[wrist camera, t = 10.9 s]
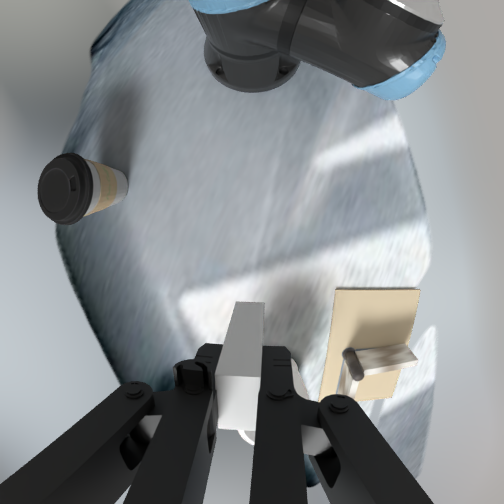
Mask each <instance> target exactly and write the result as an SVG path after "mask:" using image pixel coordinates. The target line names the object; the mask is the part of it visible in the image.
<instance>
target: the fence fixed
mask: <svg viewBox="0 0 504 504" xmlns="http://www.w3.org/2000/svg"><path fill="white" fill-rule="evenodd" d="M347 351H353V352H354V354H355V350H354V349H353V348H348V349H346V350H345V351H344V352H343V358H344V359H345V353H346V352H347ZM358 384H359V381H355V380H354V378H353V376H352V373H351V371H350V368H349V366H348V364H347V361H346V359H345V360H344V365H343V370H342V375H341V379H340V384H339V388H338V392H337V394H342V395H347V396H349V397H351V398H353V399H354V398H355V395H356V391H357V388H358Z"/></svg>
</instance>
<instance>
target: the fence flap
mask: <svg viewBox="0 0 504 504" xmlns="http://www.w3.org/2000/svg"><path fill="white" fill-rule="evenodd" d="M345 359H346V361H347V364H348V366H349V368H350V371H351V373H352V376H353V378H354V380H355V381H361V380H362V379H363V378H364V376H367V375H373V374H378V373H384V372H389V371H394V370H399V369H404V368H408V367H413V366H417V363H418V359H417V358H416V356H415V355H414V354H413V353H412V351H411V350H410V349H409V348H408V346H407V345H406V344H405V343H404V344H398V345H393V346H387V347H381V348H375V349H368V350H361V351H355V354H354V352H353V351H347V352H346V353H345Z"/></svg>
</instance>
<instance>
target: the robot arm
mask: <svg viewBox="0 0 504 504" xmlns="http://www.w3.org/2000/svg"><path fill="white" fill-rule="evenodd" d="M189 2H190V5H191V6H192V7H193V9H194V11H195V13H196V15H197V17H198V19H199V21H200V23H201V25H202V27H203V29H204V31H205V33H206V35H207V37H206V41H205V45H204V57H205V61H206V64H207V66H208V68H209V70H210V72H211V73H212V75H213V76H214V77H215V78H216V79H217V80H218V81H219V82H220V83H221V84H223V85H225V86H226V87H228V88H231V89H233V90H237V91H241V92H249V93H255V92H264V91H268V90H271V89H274V88H277V87H279V86H281V85H282V84H284V83H285V82H287V81H288V80H289V79H290V78H291V77H292V76H293V75H294V74H295V72H296V71H297V69H298V67H299V64H300V60H301V61H303V62H306V63H308V64H311V65H313V66H315V67H318V68H320V69H322V70H324V71H327V72H329V73H331V74H333V75H335V76H337V77H340V78H342V79H344V80H346V81H348V82H350V83H352V85H353V86H354V87H355V88H357V89H361V90H365V91H367V92H369V93H371V94H373V95H375V96H377V97H379V98H381V99H384V100H398V99H401V98H404V97H406V96H408V95H409V94H411V93H412V92H414V91H415V90H417V89H418V88H419V87H420V86H421V85H422V84H423V83H424V82H425V81H426V80H427V79H428V78H429V77H430V76H431V75H432V73H433V72H434V71H435V69H436V63H437V62H438V61H440V60H441V59H442V57H443V54H444V52H445V47H446V41H445V37H444V35H443V34H442V32H441V31H440V30H439V28H440V27H441V26H442V24H443V22H444V18H443V14H442V11H441V8H440V5H439V0H189ZM263 327H264V303H256V302H236V304H235V307H234V310H233V314H232V317H231V321H230V324H229V327H228V331H227V334H226V338H225V341H224V344H223V345H222V344H209V343H205V344H204V345H203V346H201V347H200V348H199V349H198V351H197V353H196V356H195V358H194V359H188V360H184V361H181V362H179V363H177V364H175V366H174V367H173V373H174V380H175V388H174V390H170V391H163V392H153V390H152V388H151V387H150V386H149V385H148V384H146V383H143V382H139V381H134V382H128V383H125V384H123V385H121V386H120V387H119V388H117V389H116V390H115V391H114V392H113V393H111V394H110V395H109V396H108V397H107V398H106V399H104V400H103V401H102V402H101V403H100V404H98V405H97V406H96V407H95V408H94V409H93V410H91V411H90V412H89V413H88V414H86V415H85V416H84V417H83V418H82V419H80V420H79V421H78V422H77V423H76V424H74V425H73V426H72V427H71V428H70V429H69V430H67V431H66V432H65V433H64V434H62V435H61V436H60V437H59V438H57V439H56V440H55V441H54V442H52V443H51V444H50V445H49V446H48V447H46V448H45V449H44V450H43V451H41V452H40V453H39V454H38V455H36V456H35V457H34V458H33V459H31V460H30V461H29V462H28V463H27V464H25V465H24V466H23V467H21V468H20V469H19V470H18V471H16V472H15V473H14V474H13V475H11V476H10V477H9V478H8V479H6V480H5V481H4V482H2V483H1V484H0V504H114V503H115V502H116V501H117V500H118V499H119V498H120V497H121V495H122V494H123V493H124V492H125V491H126V490H127V488H128V487H129V486H130V485H131V486H130V489H129V491H128V493H127V496H126V498H125V500H124V502H123V504H203V499H204V494H205V490H206V485H207V480H208V475H209V471H210V466H211V461H212V457H213V452H214V448H215V443H216V426H217V422H218V428H221V429H232V430H245V431H255V443H254V455H253V469H252V479H251V490H250V502H249V504H308V502H307V488H306V476H305V464H304V454H308V455H309V459H310V461H311V463H312V465H313V467H314V470H315V472H316V474H317V476H318V478H319V480H320V483H321V485H322V487H323V489H324V491H325V493H326V495H327V497H328V499H329V502H330V504H434V503H433V502H432V501H431V499H430V498H429V497H428V495H427V494H426V493H425V491H424V490H423V489H422V488H421V486H420V485H419V484H418V482H417V481H416V480H415V478H414V477H413V476H412V474H411V473H410V472H409V470H408V469H407V468H406V467H405V465H404V464H403V463H402V461H401V460H400V459H399V457H398V456H397V455H396V453H395V452H394V451H393V449H392V448H391V447H390V445H389V444H388V443H387V441H386V440H385V439H384V438H383V436H382V435H381V434H380V432H379V431H378V430H377V428H376V427H375V426H374V424H373V423H372V422H371V420H370V419H369V418H368V416H367V415H366V414H365V412H364V411H363V410H362V408H361V407H360V406H359V404H358V403H357V402H356V401H355V400H354V399H353V398H351V397H349V396H347V395H342V394H332V395H329V396H326V397H324V398H323V399H322V400H321V401H320V402H316V401H311V400H307V399H305V398H303V397H301V396H300V395H298V394H297V392H296V390H295V388H294V382H293V372H292V363H291V354H290V352H289V351H288V349H287V348H286V347H284V346H263Z"/></svg>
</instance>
